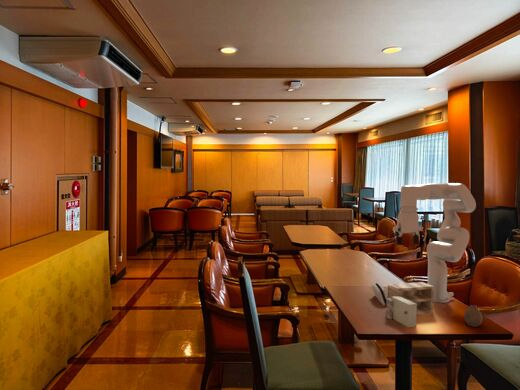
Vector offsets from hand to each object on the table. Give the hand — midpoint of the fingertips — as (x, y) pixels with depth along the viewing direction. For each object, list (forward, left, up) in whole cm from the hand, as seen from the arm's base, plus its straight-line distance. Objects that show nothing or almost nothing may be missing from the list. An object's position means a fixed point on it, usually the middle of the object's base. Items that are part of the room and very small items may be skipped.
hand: (407, 244), depth 191 cm
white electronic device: (+5, -14, -33) cm, 36 cm away
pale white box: (+14, +18, -32) cm, 39 cm away
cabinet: (+5, +7, -32) cm, 33 cm away
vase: (-14, +28, -32) cm, 45 cm away
